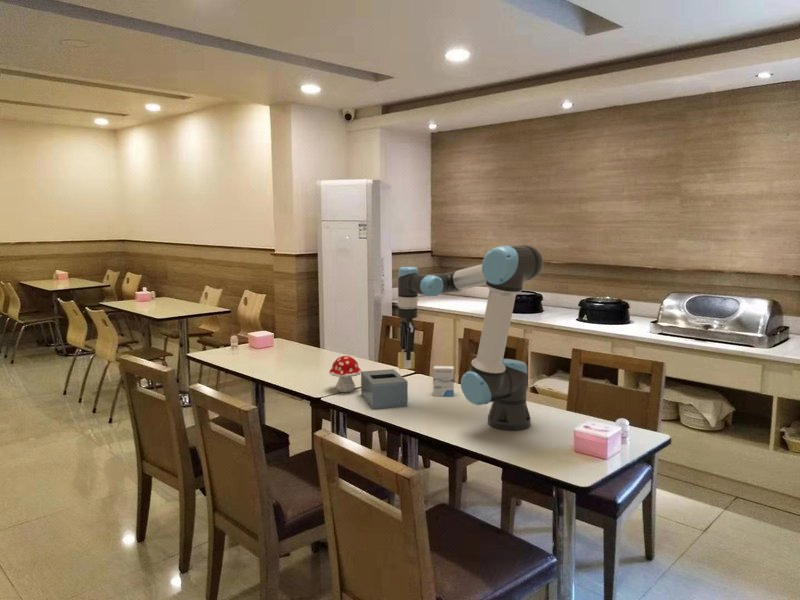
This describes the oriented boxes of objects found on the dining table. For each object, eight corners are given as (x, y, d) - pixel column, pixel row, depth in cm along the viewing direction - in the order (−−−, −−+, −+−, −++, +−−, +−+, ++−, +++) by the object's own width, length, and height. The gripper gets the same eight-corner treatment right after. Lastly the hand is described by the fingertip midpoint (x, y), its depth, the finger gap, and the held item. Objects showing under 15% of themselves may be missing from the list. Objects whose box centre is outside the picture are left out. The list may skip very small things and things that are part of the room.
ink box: (453, 393, 249) (454, 365, 247) (453, 396, 244) (453, 368, 242) (433, 392, 250) (433, 365, 248) (432, 396, 245) (433, 368, 243)
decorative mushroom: (323, 393, 248) (322, 358, 246) (338, 384, 261) (337, 351, 259) (353, 396, 243) (352, 361, 242) (367, 388, 256) (366, 354, 254)
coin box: (407, 406, 231) (407, 381, 230) (372, 409, 227) (372, 384, 226) (393, 392, 250) (393, 369, 249) (361, 394, 246) (361, 371, 245)
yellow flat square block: (414, 368, 230) (414, 353, 229) (399, 369, 229) (399, 354, 228) (412, 366, 233) (412, 351, 232) (397, 367, 231) (398, 352, 230)
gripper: (423, 310, 221) (421, 371, 224) (411, 303, 235) (409, 361, 239) (403, 310, 219) (402, 372, 222) (392, 304, 233) (391, 362, 237)
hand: (406, 366), depth 231 cm, fingers closed on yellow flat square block, 2 cm apart
